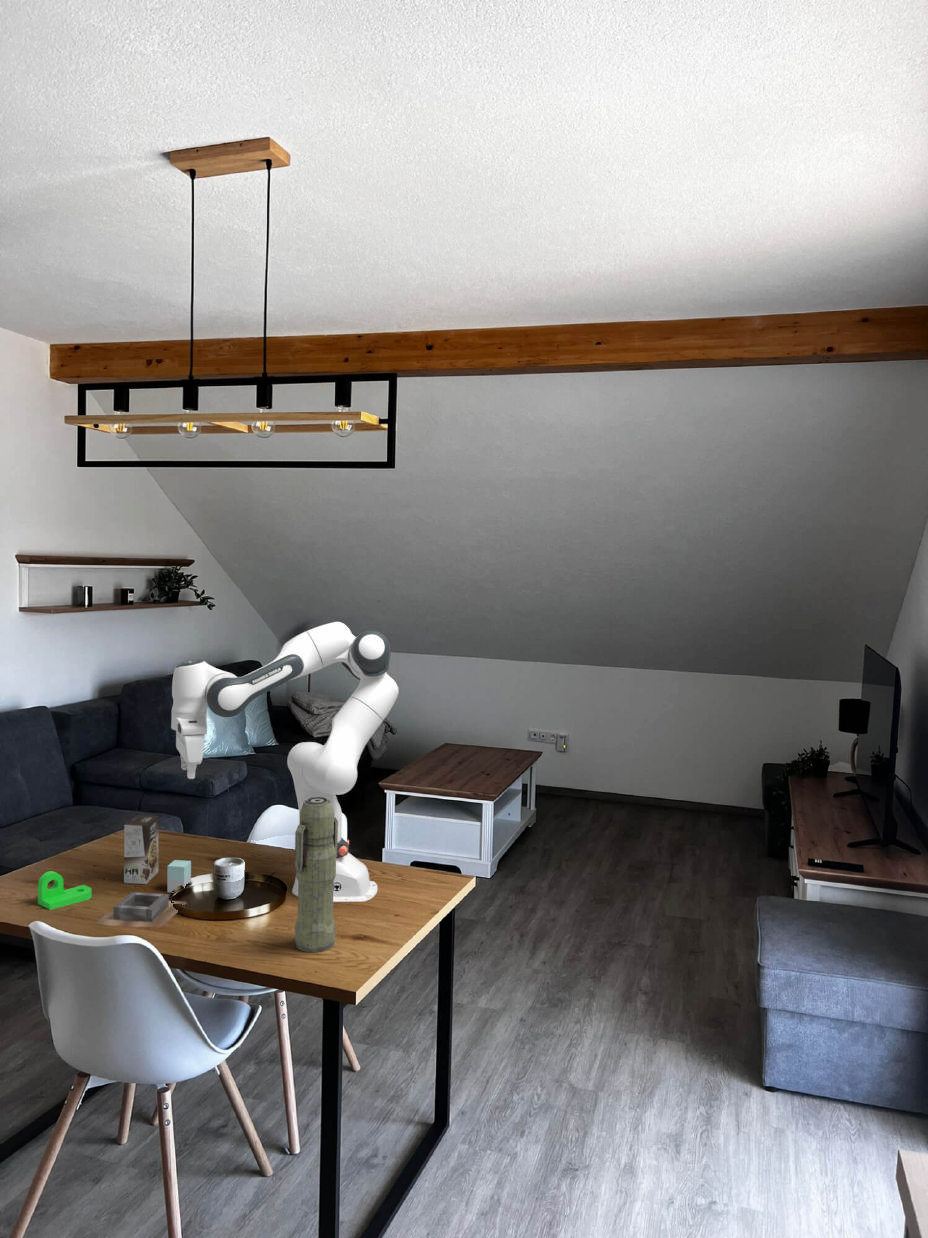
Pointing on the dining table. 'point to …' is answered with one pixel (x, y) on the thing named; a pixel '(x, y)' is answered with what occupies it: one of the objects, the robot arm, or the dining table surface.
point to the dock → (141, 911)
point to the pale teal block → (178, 874)
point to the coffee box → (141, 849)
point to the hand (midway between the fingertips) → (188, 773)
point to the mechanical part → (59, 892)
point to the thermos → (315, 875)
